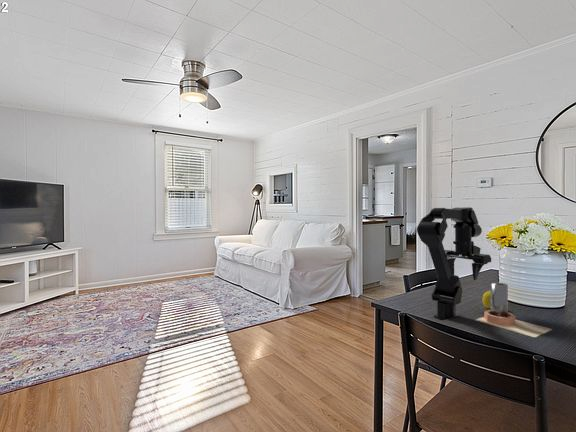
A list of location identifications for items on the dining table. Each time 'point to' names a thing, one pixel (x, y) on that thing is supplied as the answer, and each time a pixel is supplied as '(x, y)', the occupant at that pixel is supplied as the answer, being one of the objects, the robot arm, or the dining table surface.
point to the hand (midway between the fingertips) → (463, 277)
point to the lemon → (487, 299)
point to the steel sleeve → (499, 299)
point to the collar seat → (499, 318)
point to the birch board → (521, 327)
